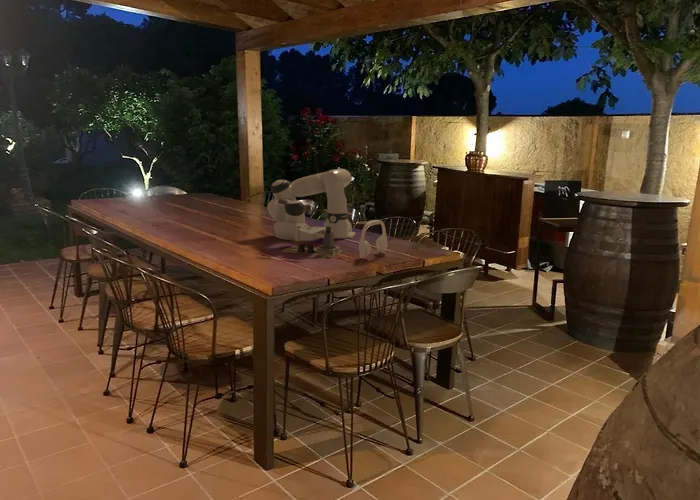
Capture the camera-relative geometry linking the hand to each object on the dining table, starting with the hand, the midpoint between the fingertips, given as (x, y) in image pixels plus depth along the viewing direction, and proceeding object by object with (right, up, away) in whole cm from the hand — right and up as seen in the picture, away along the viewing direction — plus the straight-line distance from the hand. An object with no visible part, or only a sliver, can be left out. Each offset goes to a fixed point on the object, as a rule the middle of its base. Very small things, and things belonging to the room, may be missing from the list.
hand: (328, 234), depth 274 cm
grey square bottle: (0, -9, +2) cm, 9 cm away
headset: (+22, -11, +1) cm, 24 cm away
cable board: (-9, -9, +5) cm, 13 cm away
